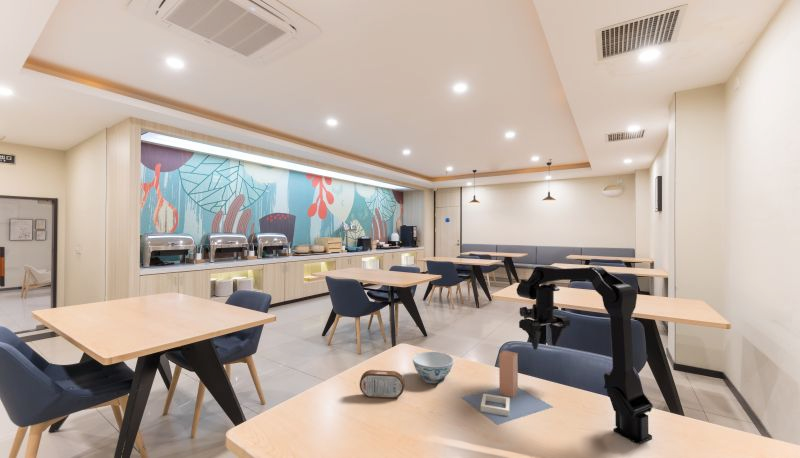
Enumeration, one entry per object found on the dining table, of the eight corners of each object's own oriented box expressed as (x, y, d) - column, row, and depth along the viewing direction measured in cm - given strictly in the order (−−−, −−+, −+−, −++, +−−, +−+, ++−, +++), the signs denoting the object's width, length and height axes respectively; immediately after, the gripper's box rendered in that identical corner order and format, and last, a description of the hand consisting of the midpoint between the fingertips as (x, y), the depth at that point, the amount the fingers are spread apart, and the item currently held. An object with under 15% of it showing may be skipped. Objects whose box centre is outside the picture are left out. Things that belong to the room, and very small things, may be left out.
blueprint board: (553, 410, 100) (553, 406, 100) (497, 429, 91) (497, 424, 91) (512, 387, 116) (512, 383, 116) (460, 400, 106) (460, 397, 106)
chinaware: (405, 375, 126) (405, 355, 126) (439, 368, 132) (439, 349, 132) (425, 392, 112) (425, 369, 112) (461, 383, 118) (461, 362, 119)
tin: (404, 395, 110) (404, 370, 110) (404, 400, 107) (404, 374, 107) (360, 393, 111) (360, 368, 112) (358, 398, 108) (358, 372, 108)
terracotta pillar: (517, 392, 109) (517, 353, 110) (513, 397, 106) (512, 357, 106) (504, 388, 112) (504, 350, 112) (499, 393, 109) (499, 354, 109)
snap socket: (509, 402, 103) (509, 397, 103) (509, 416, 95) (508, 410, 95) (483, 398, 105) (483, 393, 105) (480, 411, 98) (480, 405, 98)
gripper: (544, 296, 125) (544, 337, 125) (507, 300, 117) (507, 344, 117) (570, 301, 115) (571, 346, 115) (532, 306, 107) (532, 354, 107)
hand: (544, 347), depth 114 cm, fingers open, 9 cm apart
